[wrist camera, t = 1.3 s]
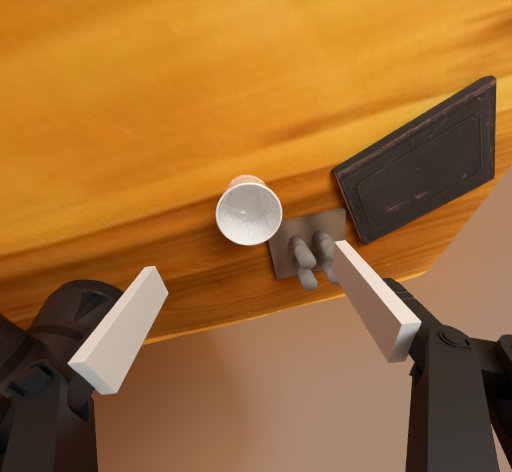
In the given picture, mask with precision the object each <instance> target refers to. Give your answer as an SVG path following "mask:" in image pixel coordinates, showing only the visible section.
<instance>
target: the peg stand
mask: <svg viewBox="0 0 512 472" xmlns="http://www.w3.org/2000/svg"><path fill="white" fill-rule="evenodd" d="M345 222H346V210H345V209H343V208H342V207H340V208H336V209H332V210H327V211H323V212H318V213H314V214H310V215H305V216H301V217H297V218H292V219H288V220H283V221H281V224H280V226H279V228H278V230H277V231H276V233H275V234H274V235H273V236H272V237H271V238H269V239H268V242H269V246H270V251H271V256H272V261H273V266H274V271H275V275H276V279H277V280H281V279H285V278H290V277H294V276H298V277H299V279H300V281H301V284H302V286H303V288H304V289H305V290H307V291H311V290H314V289H315V288H316V287H317V285H318V282H317V280H316V279H315V277H314V275H313V273H312V272H317V271H322V270H323V272H324V273H325V275H326V276H327V278H328V279H329V281H330V282H331V284H333V285H338V284H339V282H338V281H337V279H336V277H335V276H334V274H333V273H332V268H333V253H334V242H336V241H343V240H345Z"/></svg>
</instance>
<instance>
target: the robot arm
mask: <svg viewBox="0 0 512 472" xmlns="http://www.w3.org/2000/svg"><path fill="white" fill-rule="evenodd" d="M332 273H333V274H334V276H335V277H336V279H337V281H338V282H339V284H340V286H341V287H342V289H343V290H344V292H345V294H346V295H347V296H348V298H349V300H350V302H351V303H352V305H353V307H354V308H355V310H356V311H357V313H358V315H359V316H360V318H361V319H362V321H363V323H364V324H365V326H366V327H367V329H368V331H369V332H370V334H371V336H372V337H373V339H374V340H375V342H376V344H377V345H378V347H379V349H380V350H381V352H382V353H383V355H384V357H385V358H386V360H387V362H388V363H393V362H402V361H405V360H406V358H407V356H408V354H409V355H410V356H411V358H412V359H413V360H414V362H415V363H414V365H413V367H412V369H411V371H410V374H409V375H411V376H412V389H411V403H410V416H409V430H408V445H407V457H406V471H405V472H500V470H499V465H498V460H497V454H496V449H495V444H494V438H493V433H492V428H491V424H492V426H493V429H494V431H495V433H496V435H497V438H498V440H499V442H500V444H501V446H502V449H503V451H504V453H505V455H506V458H507V460H508V462H509V464H510V466H511V469H512V335H508V334H507V335H503V336H501V337H500V338H499V340H498V341H497V342H494V341H488V340H482V339H476V338H470V337H468V336H467V335H465V334H464V333H463V332H461V331H460V330H457V329H455V328H453V327H450V326H446V325H443V324H441V323H440V322H439V321H438V320H437V319H436V318H435V317H434V316H433V315H432V314H431V313H430V312H429V311H428V310H427V309H426V308H425V307H424V306H423V305H422V304H420V302H418V301H417V300H416V299H414V297H413V296H412V295H411V294H410V293H409V292H408V291H407V290H406V289H405V288H404V287H403V286H402V285H401V284H400V283H398V282H396V281H395V280H393V279H391V278H383V279H381V278H380V277H379V276H378V275H377V274H376V273H375V272H374V271H373V269H372V268H371V267H370V266H369V265H368V264H367V263H366V262H365V261H364V260H363V259H362V258H361V257H360V256H359V255H358V253H357V252H356V251H355V250H354V249H353V248H352V247H351V246H350V245H349V244H348V243H347V242H346V241H345V240H343V241H336V242H334V253H333V268H332ZM167 295H168V291H167V289H166V287H165V285H164V283H163V281H162V279H161V277H160V275H159V273H158V271H157V269H156V267H155V266H151V267H145V268H144V269H143V270H142V272H141V273H140V274H139V275H138V277H137V278H136V279H135V280H134V282H133V283H132V284H131V285H130V286H129V288H128V289H127V290H126V291H125V293H123V292H122V291H121V290H119V289H117V288H115V287H114V286H111V285H109V284H106V283H103V282H99V281H94V280H75V281H71V282H68V283H65V284H64V285H62V286H61V287H59V288H58V289H57V290H56V291H55V292H53V293H52V294H51V295H50V296H49V297H48V298H47V300H46V301H45V303H44V305H43V306H42V308H41V309H40V311H39V313H38V314H37V316H36V317H35V319H34V321H33V322H32V324H31V326H30V327H29V328H28V329H27V330H26V331H24V330H23V329H21V328H20V327H18V326H17V325H16V324H14V323H13V322H11V321H10V320H9V319H7V318H6V317H4V316H3V315H2V314H0V472H98V464H97V448H96V433H95V418H94V402H93V399H92V397H91V394H92V393H93V391H94V390H95V389H96V390H97V391H98V392H99V393H100V394H101V395H103V394H113V393H117V391H118V389H119V387H120V385H121V384H122V381H123V380H124V378H125V376H126V374H127V372H128V370H129V368H130V366H131V364H132V362H133V360H134V359H135V357H136V354H137V353H138V351H139V349H140V347H141V345H142V343H143V341H144V339H145V337H146V335H147V334H148V332H149V330H150V328H151V326H152V324H153V322H154V320H155V318H156V316H157V314H158V312H159V310H160V308H161V307H162V305H163V303H164V301H165V299H166V297H167Z"/></svg>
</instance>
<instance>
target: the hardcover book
mask: <svg viewBox="0 0 512 472" xmlns="http://www.w3.org/2000/svg"><path fill="white" fill-rule="evenodd" d="M495 122H496V78H495V77H494V76H486V77H483V78H480V79H479V80H477V81H476V82H474V83H472V84H471V85H469V86H467V87H466V88H464V89H462V90H461V91H459V92H458V93H456V94H454V95H453V96H451V97H449V98H448V99H446V100H444V101H443V102H441V103H440V104H438V105H436V106H435V107H433V108H431V109H430V110H428V111H426V112H425V113H423V114H422V115H420V116H418V117H417V118H415V119H413V120H412V121H410V122H408V123H407V124H405V125H404V126H402V127H400V128H399V129H397V130H395V131H394V132H392V133H390V134H389V135H387V136H386V137H384V138H382V139H381V140H379V141H377V142H376V143H374V144H372V145H371V146H369V147H368V148H366V149H364V150H363V151H361V152H359V153H358V154H356V155H355V156H353V157H351V158H350V159H348V160H346V161H345V162H343V163H341V164H340V165H338V166H337V167H335V168H333V169H332V170H331V171H334V174H335V176H336V179H337V181H338V184H339V186H340V189H341V191H342V194H343V197H344V199H345V202H346V204H347V207H348V209H349V212H350V214H351V217H352V220H353V222H354V225H355V227H356V230H357V232H358V235H359V237H360V239H361V240H362V242H363V245H366V244H368V243H370V242H372V241H374V240H376V239H378V238H380V237H382V236H384V235H386V234H388V233H390V232H392V231H394V230H395V229H397V228H399V227H401V226H403V225H405V224H407V223H409V222H411V221H413V220H415V219H417V218H419V217H421V216H423V215H425V214H427V213H429V212H430V211H432V210H434V209H436V208H438V207H440V206H442V205H444V204H446V203H448V202H450V201H452V200H454V199H456V198H458V197H460V196H462V195H464V194H465V193H467V192H469V191H471V190H473V189H475V188H477V187H479V186H481V185H483V184H485V183H487V182H489V181H491V180H493V179H494V175H495Z"/></svg>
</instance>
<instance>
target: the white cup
mask: <svg viewBox="0 0 512 472" xmlns="http://www.w3.org/2000/svg"><path fill="white" fill-rule="evenodd" d="M281 220H282V207H281V204H280V201H279V199H278V198H277V196H276V195H275V194H274V193H273V192H272V190H271V189H270V188H269V187H268V186H267V185H266V184H265V183H264V182H263V181H261V180H260V179H259V178H257V177H255V176H253V175H250V174H247V175H239V176H238V177H236V178H234V179H232V181H231V182H230V183H229V184H228V186H227V187H226V189H225V190H224V192H223V194H222V196H221V198H220V200H219V202H218V205H217V208H216V221H217V224H218V227H219V229H220V231H221V232H222V233H223V234H224V236H226V237H227V238H228V239H229V240H231V241H233V242H235V243H237V244H241V245H256V244H260V243H262V242H265V241H266V240H268V239H269V238H271V237H272V236H273V235H274V234H275V233H276V231H277V230H278V228H279V226H280V224H281Z"/></svg>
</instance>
